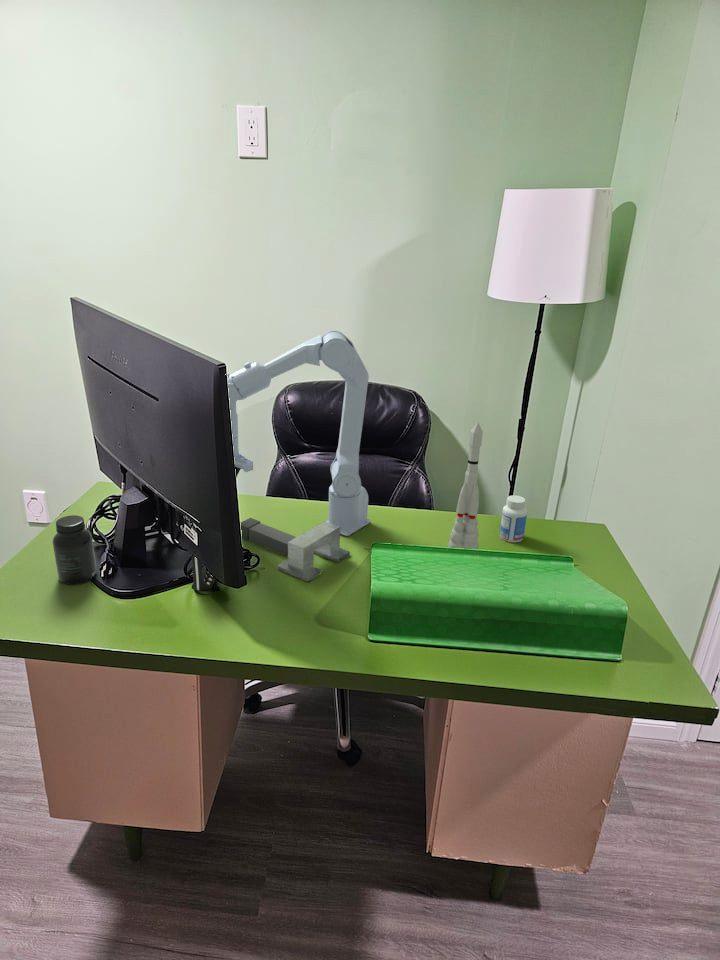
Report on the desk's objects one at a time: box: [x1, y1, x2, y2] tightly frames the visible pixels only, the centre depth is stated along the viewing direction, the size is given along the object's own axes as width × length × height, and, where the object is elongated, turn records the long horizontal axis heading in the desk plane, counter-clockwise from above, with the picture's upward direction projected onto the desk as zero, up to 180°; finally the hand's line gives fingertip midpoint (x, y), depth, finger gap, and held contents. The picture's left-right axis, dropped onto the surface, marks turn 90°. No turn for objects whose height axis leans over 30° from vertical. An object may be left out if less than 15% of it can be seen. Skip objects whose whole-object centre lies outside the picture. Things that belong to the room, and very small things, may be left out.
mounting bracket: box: [276, 520, 351, 582], centre depth 130 cm, size 14×8×6 cm, turn 145°
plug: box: [240, 517, 297, 557], centre depth 137 cm, size 4×16×3 cm, turn 55°
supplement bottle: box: [52, 514, 97, 586], centre depth 120 cm, size 7×7×12 cm
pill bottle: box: [499, 494, 528, 543], centre depth 143 cm, size 6×5×10 cm
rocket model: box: [447, 422, 484, 550], centre depth 130 cm, size 7×7×30 cm
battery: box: [191, 555, 216, 591], centre depth 120 cm, size 7×4×11 cm, turn 177°
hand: (227, 493), depth 141 cm, fingers closed
